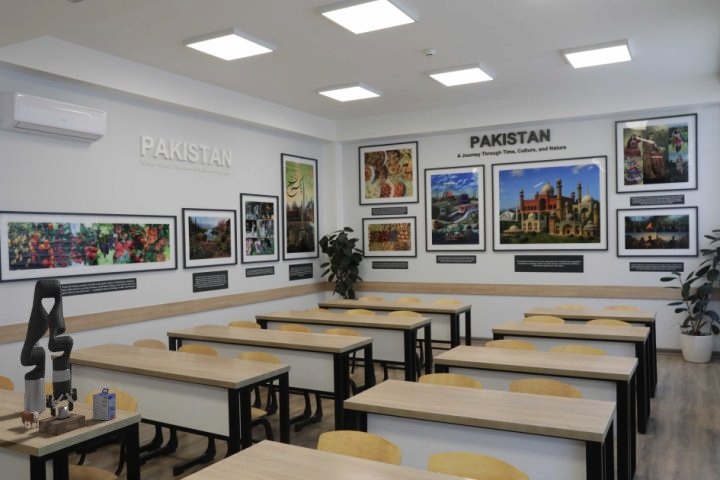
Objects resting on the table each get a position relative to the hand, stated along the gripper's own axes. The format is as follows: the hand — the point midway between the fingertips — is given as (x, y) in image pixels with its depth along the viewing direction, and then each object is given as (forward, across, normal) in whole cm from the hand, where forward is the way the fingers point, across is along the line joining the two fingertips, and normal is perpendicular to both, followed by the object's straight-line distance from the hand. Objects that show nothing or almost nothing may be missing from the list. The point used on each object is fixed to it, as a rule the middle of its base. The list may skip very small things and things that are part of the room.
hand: (62, 413), depth 268 cm
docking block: (+7, 0, 0) cm, 7 cm away
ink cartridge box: (+7, -19, +5) cm, 21 cm away
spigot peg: (+6, 0, 0) cm, 6 cm away
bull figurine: (+7, +5, -16) cm, 18 cm away
